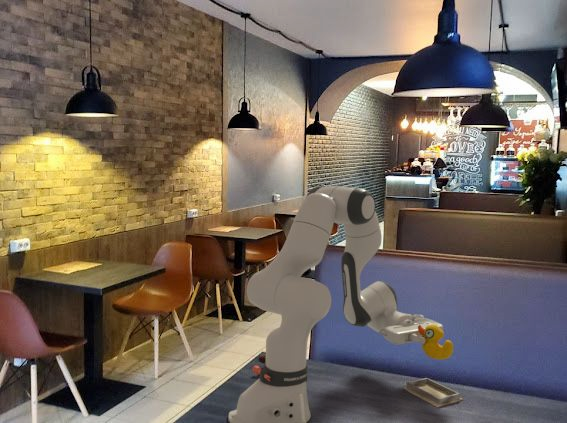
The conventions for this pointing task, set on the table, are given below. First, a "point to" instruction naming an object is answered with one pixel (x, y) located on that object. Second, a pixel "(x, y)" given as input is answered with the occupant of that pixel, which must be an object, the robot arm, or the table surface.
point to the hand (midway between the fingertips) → (432, 339)
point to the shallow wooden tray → (432, 392)
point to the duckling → (435, 343)
